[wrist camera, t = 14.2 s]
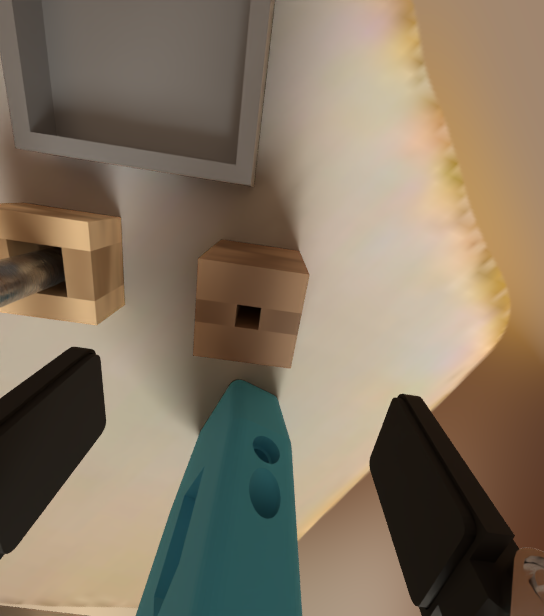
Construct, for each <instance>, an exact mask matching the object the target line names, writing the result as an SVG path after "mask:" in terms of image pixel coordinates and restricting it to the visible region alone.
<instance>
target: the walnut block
mask: <svg viewBox="0 0 544 616" xmlns="http://www.w3.org/2000/svg"><path fill="white" fill-rule="evenodd" d="M308 279H309V273H308V270H307V268H306V265H305V263H304V261H303V258H302V256H301V254H300V251H296V250H289V249H282V248H276V247H269V246H262V245H256V244H249V243H242V242H236V241H229V240H222V239H221V240H220V241H219V242H217V243H216V244H215V245H214V246H213V247H211V248H210V249H209V250H208V251H207V252H205V253H204V254H203V255H202V256H200V257H199V258H198V271H197V290H196V309H195V328H194V348H193V356H200V357H208V358H215V359H223V360H231V361H238V362H246V363H253V364H261V365H268V366H276V367H284V368H291V364H292V359H293V354H294V349H295V344H296V339H297V334H298V329H299V324H300V319H301V314H302V309H303V304H304V299H305V294H306V289H307V284H308Z"/></svg>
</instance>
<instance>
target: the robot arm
mask: <svg viewBox="0 0 544 616" xmlns="http://www.w3.org/2000/svg"><path fill="white" fill-rule="evenodd" d="M105 425H106V415H105V404H104V393H103V382H102V371H101V360H100V357H99V355H96V353H95V351H94V350H92V349H87V348H80V347H71V348H69V349H68V350H66V351H65V352H64V353H62V354H61V355H59V356H58V357H57V358H55V359H54V360H53V361H51V362H50V363H48V364H47V365H46V366H44V367H43V368H42V369H40V370H39V371H37V372H36V373H35V374H33V375H32V376H31V377H29V378H28V379H26V380H25V381H24V382H22V383H21V384H20V385H18V386H17V387H15V388H14V389H13V390H11V391H10V392H9V393H7V394H6V395H4V396H3V397H2V398H0V559H1V558H2V557H3V555H4V554H8V553H10V552H11V551H13V550H14V549H15V548H16V546H17V545H18V544H19V543H20V541H21V540H22V539H23V537H24V536H25V535H26V533H27V532H28V531H29V529H30V528H31V527H32V525H33V524H34V523H35V521H36V520H37V519H38V517H39V516H40V515H41V514H42V512H43V511H44V510H45V508H46V507H47V506H48V504H49V503H50V502H51V500H52V499H53V498H54V496H55V495H56V494H57V492H58V491H59V490H60V488H61V487H62V486H63V484H64V483H65V482H66V480H67V479H68V478H69V476H70V475H71V474H72V472H73V471H74V470H75V468H76V467H77V466H78V464H79V463H80V462H81V460H82V459H83V458H84V456H85V455H86V454H87V452H88V451H89V450H90V448H91V447H92V446H93V444H94V443H95V442H96V440H97V439H98V438H99V436H100V435H101V434H102V432H103V430H104V428H105ZM370 471H371V474H372V477H373V480H374V484H375V487H376V490H377V493H378V496H379V499H380V503H381V506H382V509H383V512H384V515H385V518H386V522H387V525H388V528H389V531H390V534H391V537H392V541H393V544H394V547H395V550H396V553H397V556H398V559H399V563H400V566H401V569H402V572H403V575H404V578H405V582H406V585H407V588H408V591H409V595H410V597H411V600H412V602H413V603H414V605H415V606H418V607H419V609H420V612H421V615H422V616H544V552H543V551H540V550H537V549H534V548H522V549H519V548H518V546H517V545H516V543H515V542H514V540H513V538H514V536H515V535H514V534H513V532H512V531H511V529H510V528H509V527H508V525H507V524H506V522H505V521H504V519H503V518H502V516H501V515H500V513H499V512H498V510H497V509H496V507H495V506H494V504H493V503H492V501H491V500H490V499H489V497H488V496H487V494H486V493H485V491H484V490H483V488H482V487H481V485H480V484H479V482H478V481H477V479H476V478H475V476H474V475H473V473H472V472H471V470H470V469H469V467H468V466H467V464H466V463H465V461H464V460H463V459H462V457H461V456H460V454H459V453H458V451H457V450H456V448H455V447H454V445H453V444H452V442H451V441H450V439H449V438H448V437H447V435H446V433H445V432H444V431H443V429H442V428H441V426H440V424H439V423H438V422H437V420H436V419H435V417H434V416H433V414H432V413H431V411H430V410H429V408H428V407H427V405H426V404H425V402H424V401H423V399H422V398H421V397H419V396H413V395H406V394H400V395H399V396H398V397H397V398H393V399H392V401H391V404H390V406H389V409H388V412H387V414H386V417H385V420H384V422H383V425H382V428H381V430H380V433H379V436H378V438H377V441H376V443H375V446H374V449H373V451H372V454H371V457H370ZM0 616H87V615H77V614H70V613H60V612H53V611H44V610H36V609H27V608H19V607H10V606H1V605H0Z"/></svg>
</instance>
